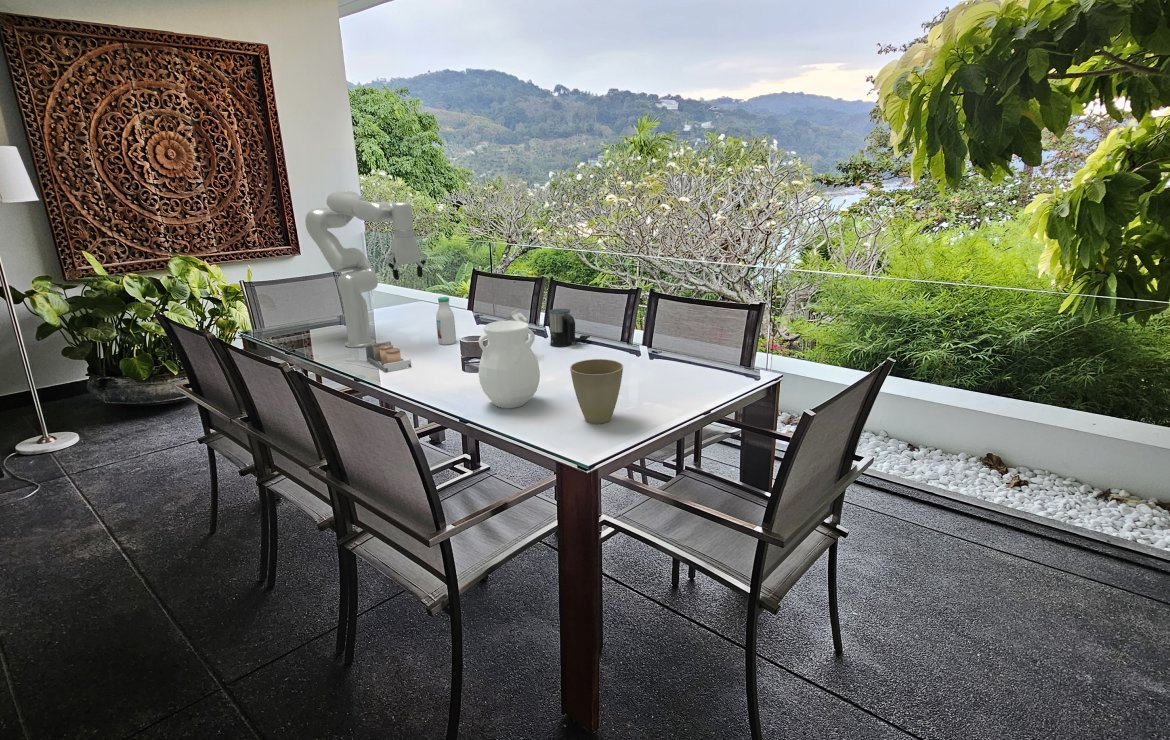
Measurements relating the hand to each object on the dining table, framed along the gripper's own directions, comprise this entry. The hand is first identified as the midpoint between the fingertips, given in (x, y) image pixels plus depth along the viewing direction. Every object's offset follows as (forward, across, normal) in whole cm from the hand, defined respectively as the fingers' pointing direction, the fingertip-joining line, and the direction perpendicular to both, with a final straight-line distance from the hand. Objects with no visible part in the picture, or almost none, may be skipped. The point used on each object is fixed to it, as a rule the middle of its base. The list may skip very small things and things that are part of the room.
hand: (408, 278), depth 247 cm
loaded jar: (+30, +16, +18) cm, 39 cm away
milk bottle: (+31, -16, -4) cm, 35 cm away
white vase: (+31, +3, +82) cm, 88 cm away
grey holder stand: (+30, +16, +12) cm, 36 cm away
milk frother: (+31, -55, +33) cm, 71 cm away
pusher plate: (+30, +16, +3) cm, 34 cm away
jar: (+30, +16, +11) cm, 36 cm away
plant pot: (+31, -9, +110) cm, 115 cm away
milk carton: (+31, -26, +38) cm, 55 cm away
